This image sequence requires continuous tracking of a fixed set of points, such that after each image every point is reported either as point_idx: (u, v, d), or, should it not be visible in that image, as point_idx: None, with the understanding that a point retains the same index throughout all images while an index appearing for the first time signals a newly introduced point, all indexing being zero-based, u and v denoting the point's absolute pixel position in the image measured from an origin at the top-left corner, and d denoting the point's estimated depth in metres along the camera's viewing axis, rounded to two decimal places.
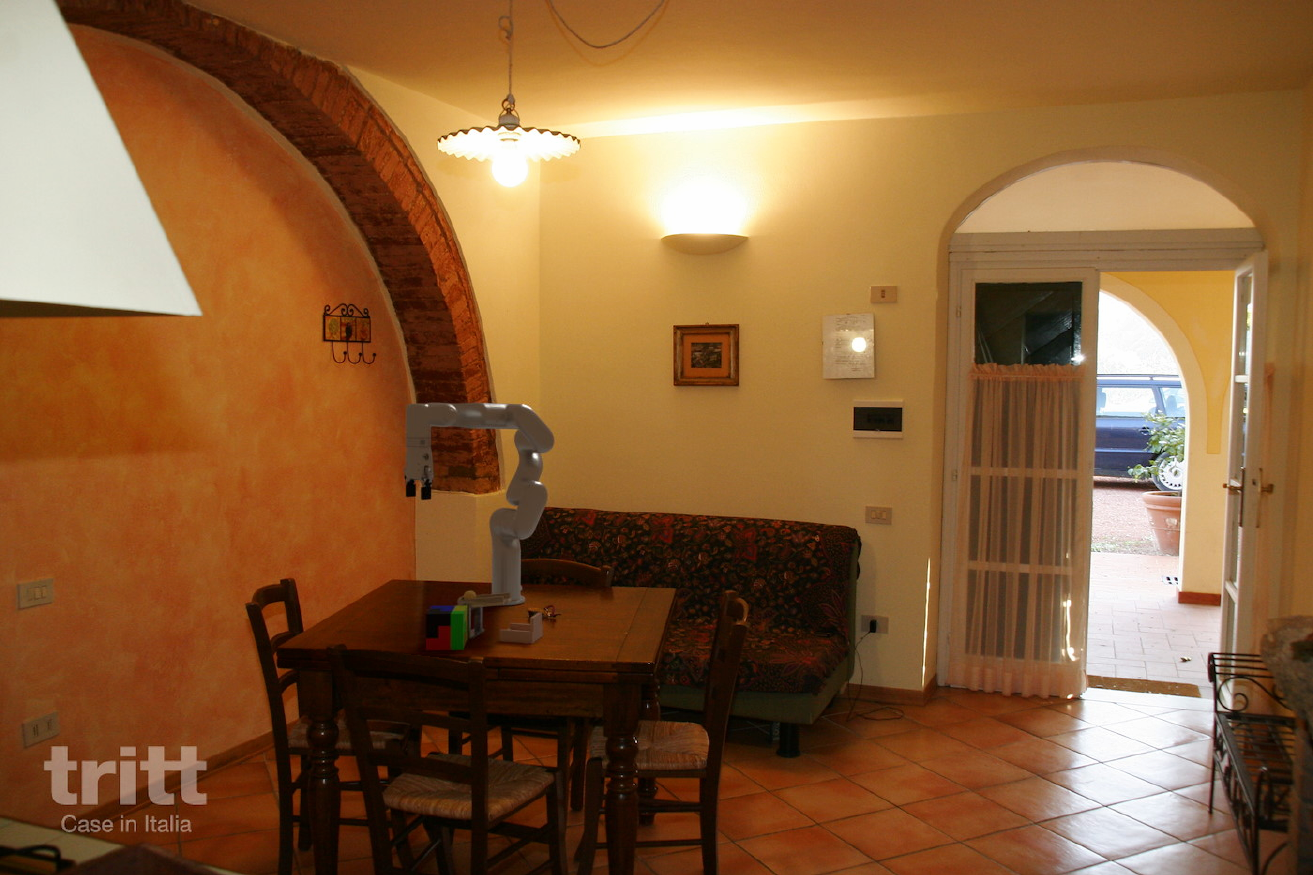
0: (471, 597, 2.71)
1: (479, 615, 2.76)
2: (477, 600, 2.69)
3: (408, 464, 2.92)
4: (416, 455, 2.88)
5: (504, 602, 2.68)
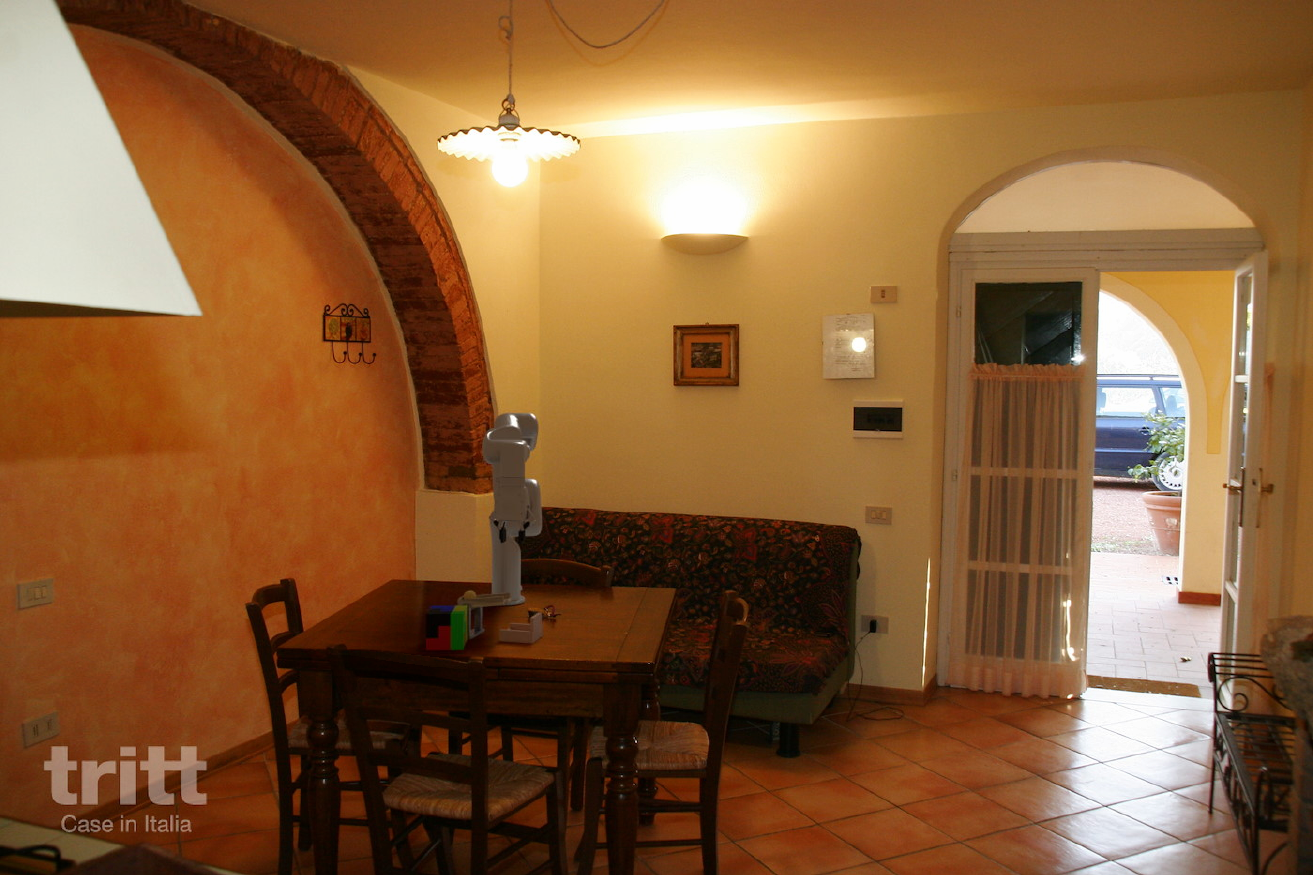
0: (471, 597, 2.71)
1: (479, 615, 2.76)
2: (477, 600, 2.69)
3: None
4: None
5: (504, 602, 2.68)
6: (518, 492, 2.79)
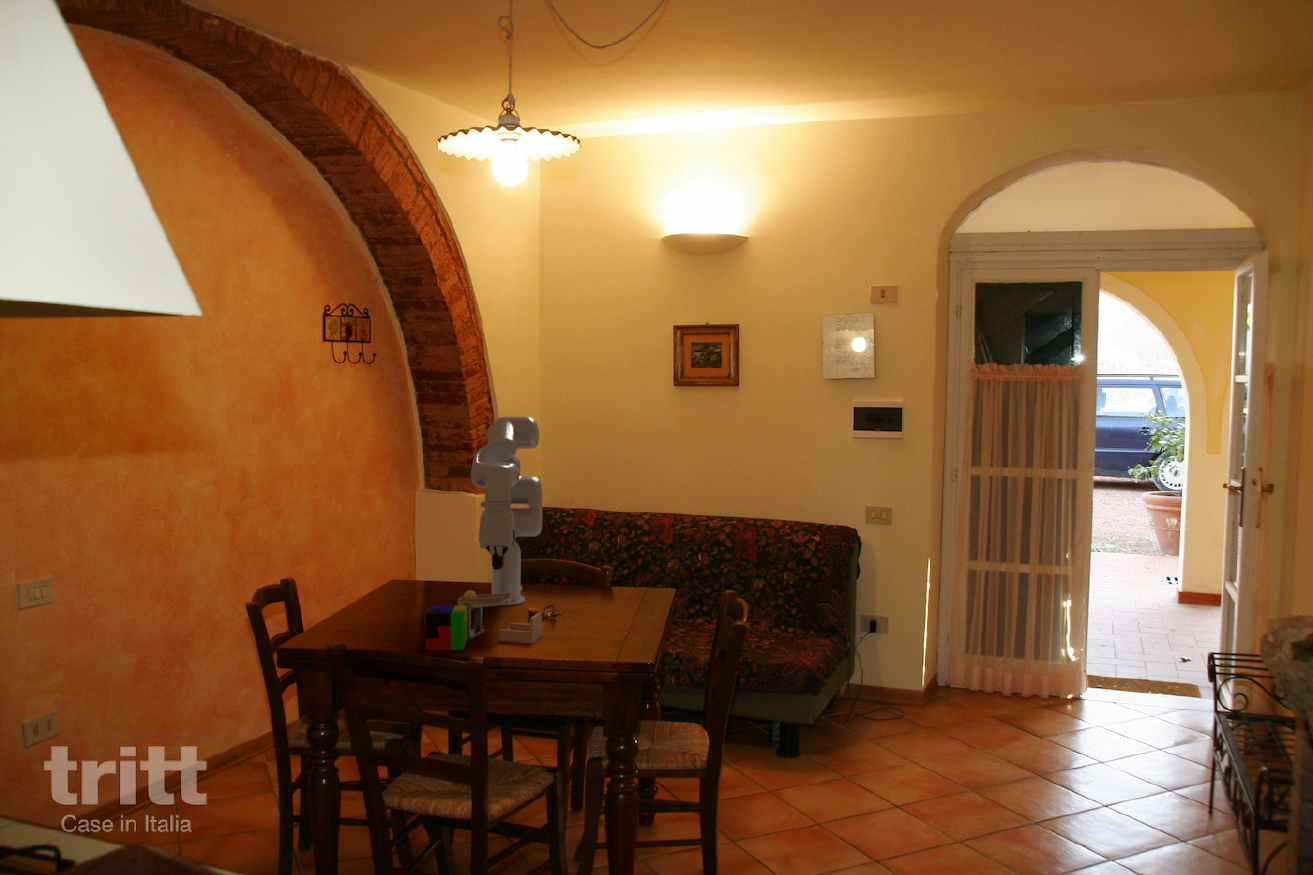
0: (471, 597, 2.71)
1: (479, 615, 2.76)
2: (477, 600, 2.69)
3: None
4: None
5: (504, 602, 2.68)
6: (504, 516, 2.73)
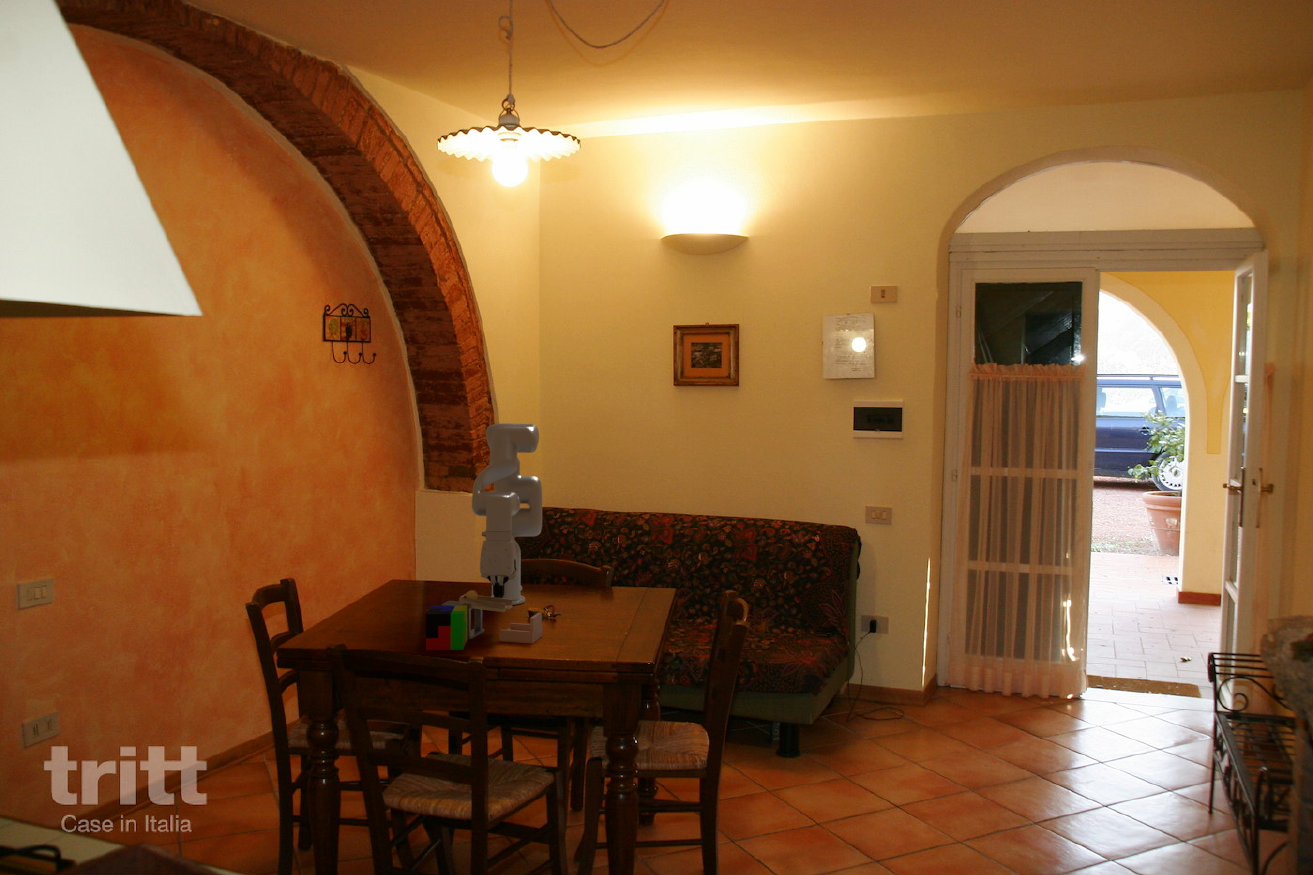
0: (473, 598, 2.71)
1: (479, 615, 2.76)
2: (479, 602, 2.69)
3: None
4: None
5: (505, 609, 2.68)
6: (505, 546, 2.74)
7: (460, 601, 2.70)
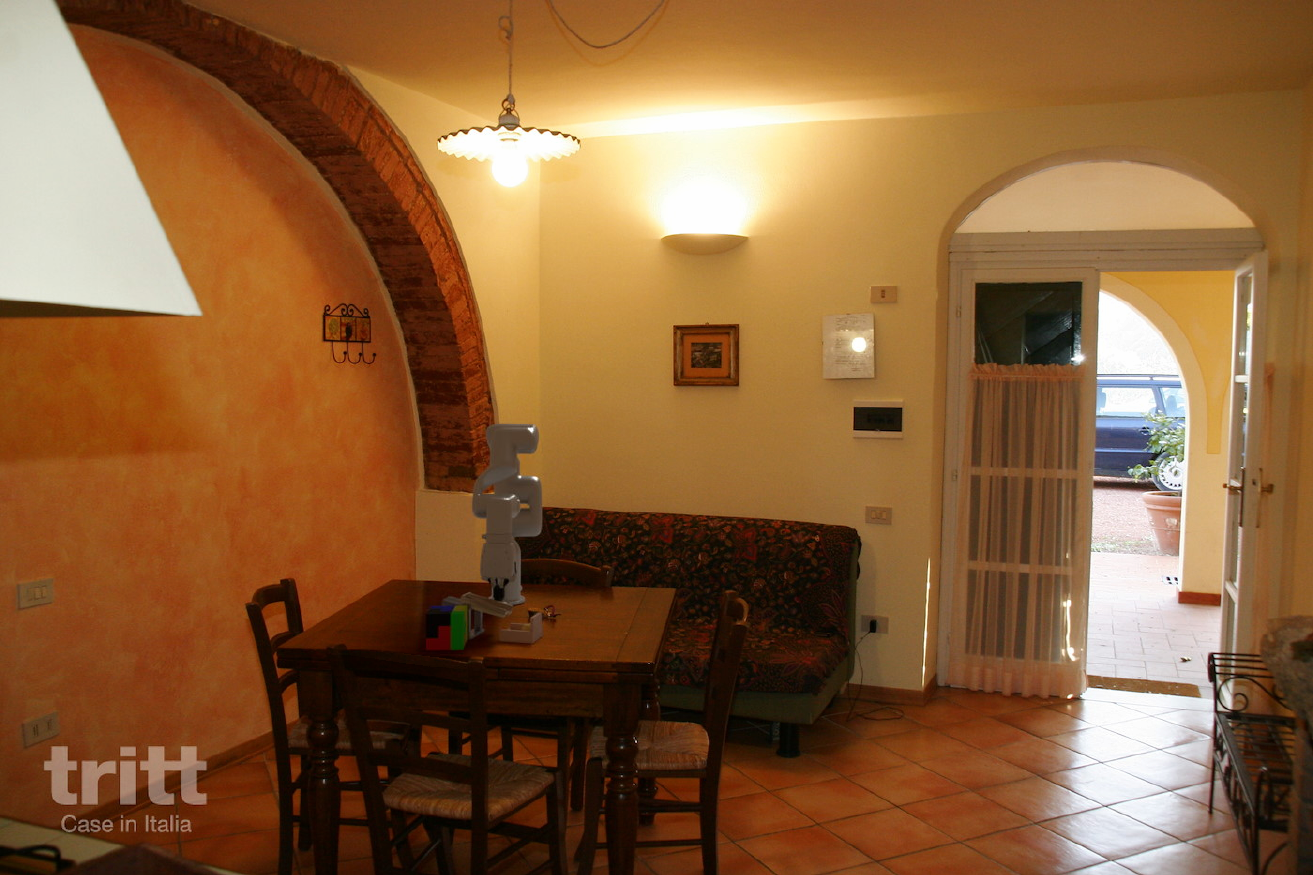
0: (528, 627, 2.68)
1: (479, 615, 2.76)
2: (480, 604, 2.69)
3: None
4: None
5: (505, 615, 2.68)
6: (505, 549, 2.74)
7: (461, 600, 2.70)
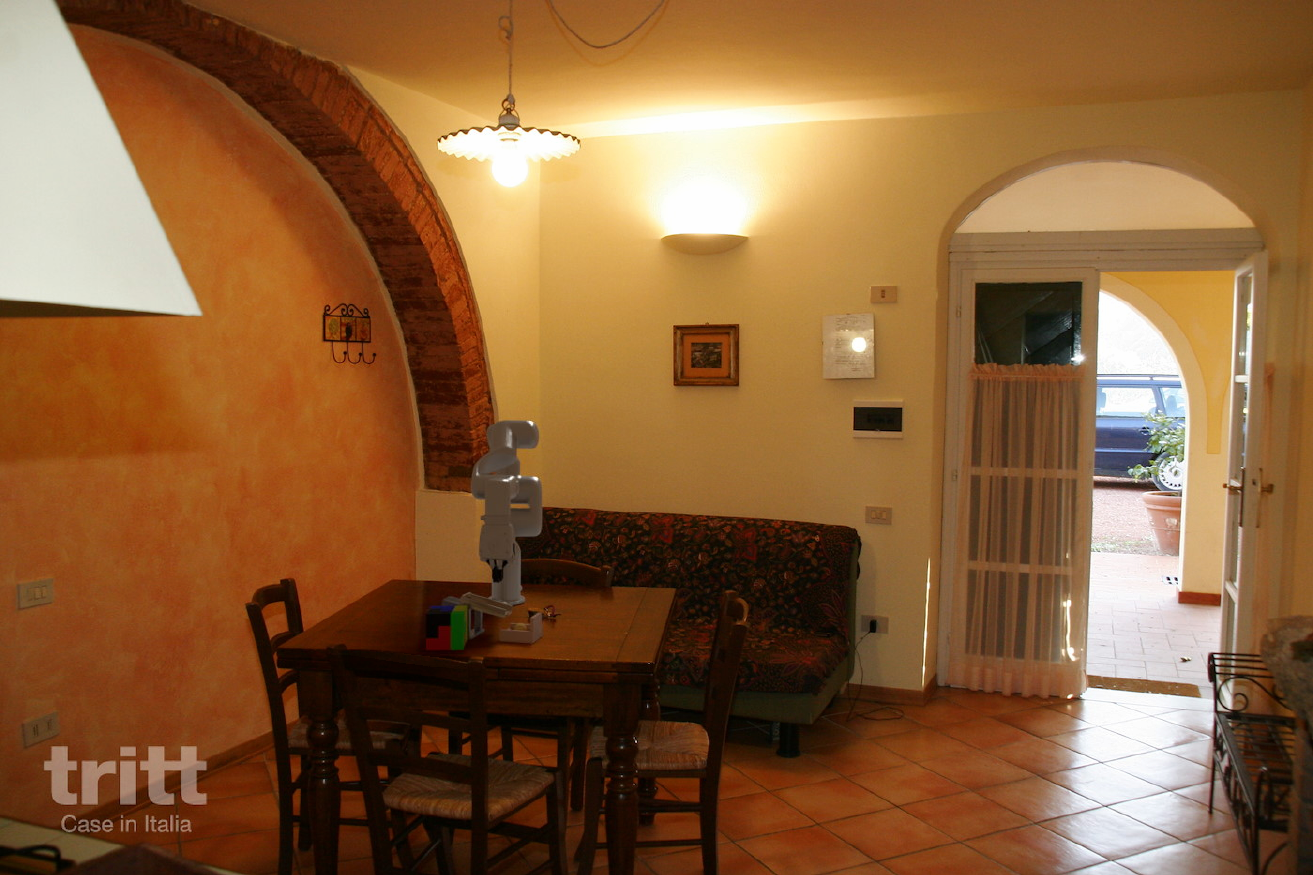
0: (515, 627, 2.68)
1: (479, 615, 2.76)
2: (480, 604, 2.69)
3: None
4: None
5: (505, 615, 2.68)
6: (504, 530, 2.74)
7: (461, 600, 2.70)
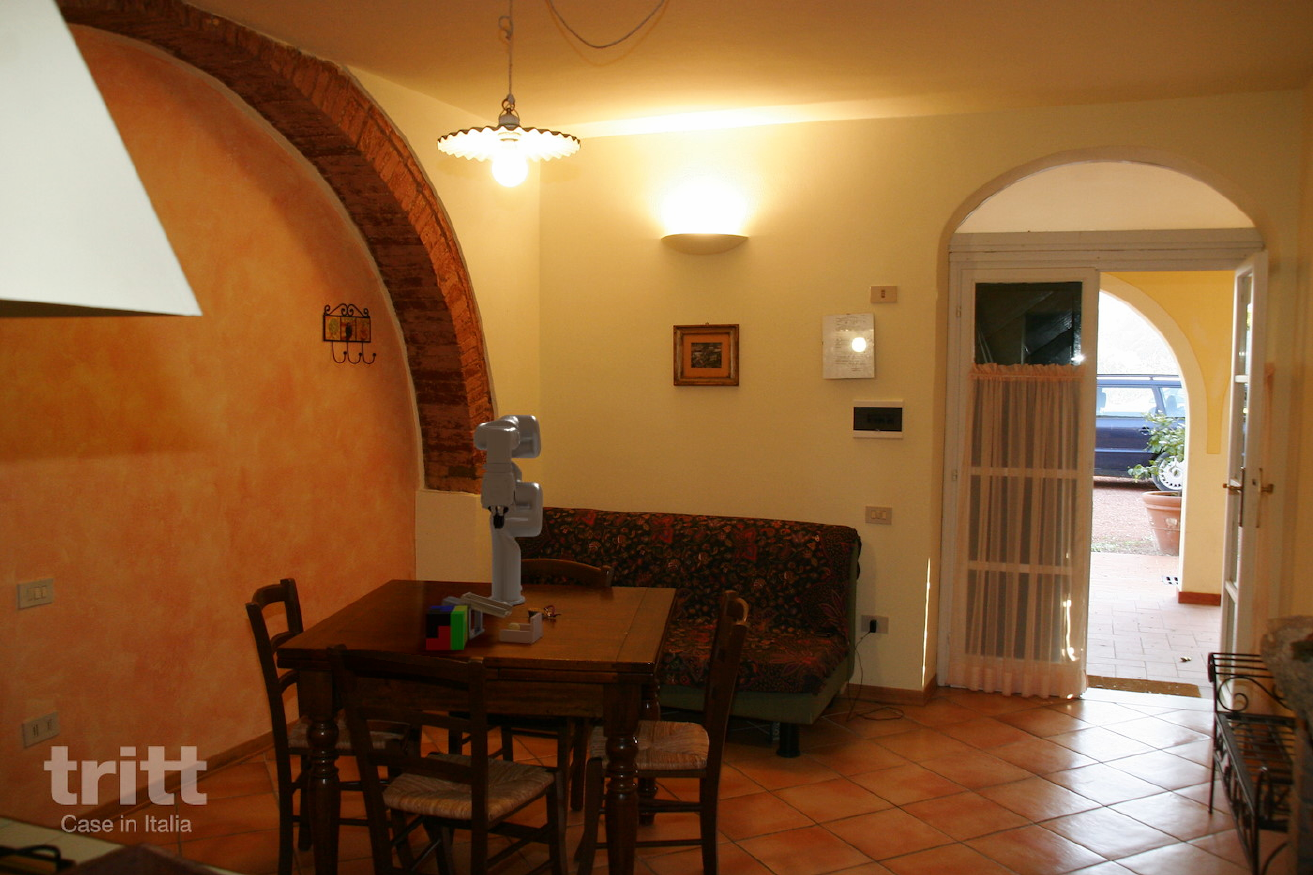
0: None
1: (479, 615, 2.76)
2: (480, 604, 2.69)
3: None
4: None
5: (505, 615, 2.68)
6: (505, 477, 2.84)
7: (461, 600, 2.70)
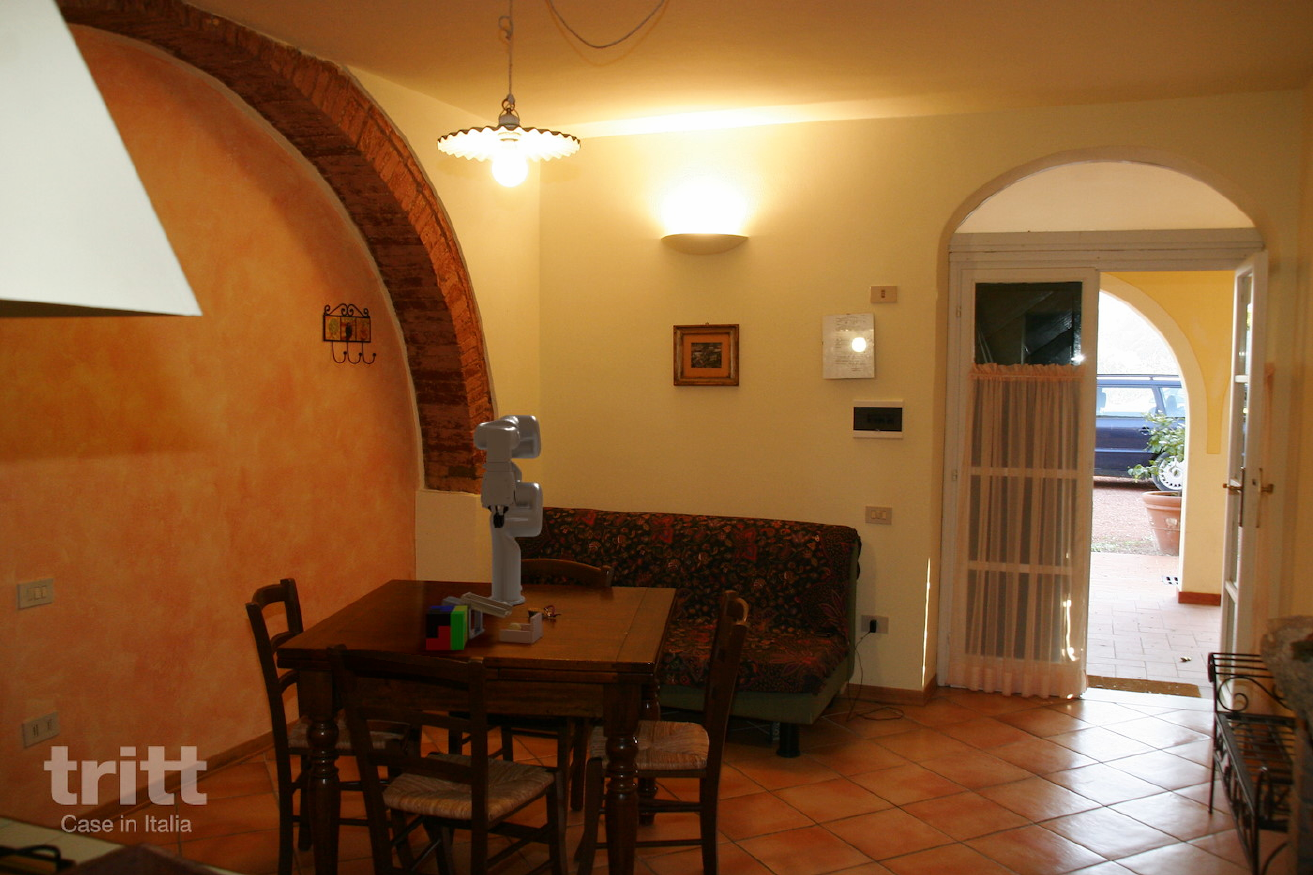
0: None
1: (479, 615, 2.76)
2: (480, 604, 2.69)
3: None
4: None
5: (505, 615, 2.68)
6: (505, 477, 2.84)
7: (461, 600, 2.70)
